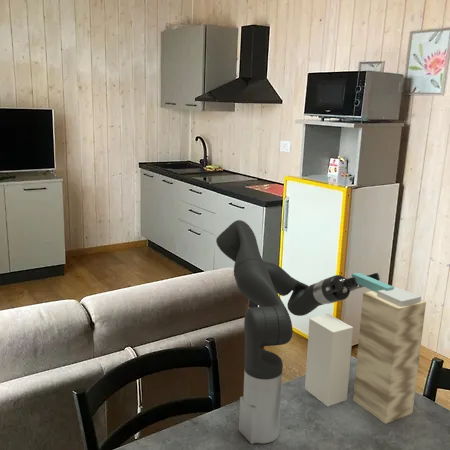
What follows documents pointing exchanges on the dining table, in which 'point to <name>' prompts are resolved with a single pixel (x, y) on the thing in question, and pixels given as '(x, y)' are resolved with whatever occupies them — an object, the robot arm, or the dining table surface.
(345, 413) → the dining table surface
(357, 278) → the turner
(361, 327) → the tall wooden block
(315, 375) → the white block
